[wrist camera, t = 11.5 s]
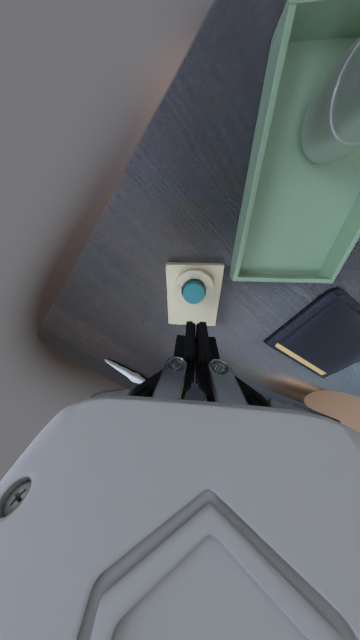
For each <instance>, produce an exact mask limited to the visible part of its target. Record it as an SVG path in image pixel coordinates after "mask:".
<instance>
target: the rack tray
mask: <svg viewBox="0 0 360 640" xmlns="http://www.w3.org/2000/svg"><path fill="white" fill-rule="evenodd" d="M359 38H360V0H287V2H286V5H285V7H284V10H283V12H282V15H281V17H280V20H279V22H278V25H277V27H276V30H275V32H274V35H273V37H272V40H271V45H270V51H269V56H268V62H267V67H266V73H265V78H264V84H263V89H262V95H261V101H260V106H259V112H258V117H257V123H256V128H255V134H254V139H253V145H252V150H251V156H250V161H249V167H248V172H247V178H246V183H245V189H244V194H243V200H242V205H241V211H240V216H239V222H238V227H237V233H236V238H235V244H234V249H233V255H232V260H231V266H230V271H229V277H230V278H231V279H232V280H233V281H250V282H295V283H333V282H334V280H335V278H336V277H337V275H338V273H339V271H340V270H341V268H342V266H343V265H344V263H345V261H346V259H347V258H348V256H349V254H350V253H351V251H352V249H353V247H354V246H355V244H356V242H357V240H358V239H359V237H360V148H359V149H357V150H356V151H355V152H353V153H351V154H350V155H348V156H347V157H344V158H342V159H340V160H337V161H333V162H330V163H326V164H316V163H313V162H311V161H310V160H308V159H307V157H306V156H305V154H304V152H303V149H302V143H301V131H302V125H303V121H304V117H305V114H306V111H307V109H308V106H309V104H310V102H311V100H312V98H313V96H314V95H315V93H316V91H317V90H318V88H319V86H320V85H321V83H322V82H323V80H324V78H325V77H326V75H327V74H328V72H329V71H330V70H331V68H332V67H333V65H334V64H335V63H336V62H337V61H338V59H339V58H340V57H341V56H342V55H343V54H344V53H345V52H346V51H347V50H348V49H349V48H350V47H351V46H352V45H353V44H354V43H355V42H356V41H357V40H358V39H359Z"/></svg>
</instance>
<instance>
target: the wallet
mask: <svg viewBox="0 0 360 640" xmlns="http://www.w3.org/2000/svg"><path fill="white" fill-rule="evenodd" d="M264 342H265V343H266V344H267V345H269V346H270V347H272V348H273V349H275V350H277V351H279V352H281V353H282V354H284V355H286V356H287V357H289V358H291V359H292V360H294V361H296V362H297V363H299V364H301V365H302V366H304V367H306V368H307V369H309V370H311V371H312V372H314V373H315V374H317V375H319V376H320V377H322V378H325V377H327V376H329V375H331V374H333V373H336V372H338V371H340V370H342V369H344V368H346V367H348V366H350V365H352V364H354V363H356V362H358V361H360V305H359V304H358V303H357V302H356V301H355V300H353V299H352V298H351V297H350V296H349V295H348V294H347V293H346V292H344V291H343V290H341V289H339V288H334V289H331V290H328V291H327V292H325V293H324V294H323V295H321V296H320V297H319V298H317V299H316V300H315V301H314V302H312V303H311V304H310V305H309V306H307V307H306V308H305V309H304V310H303V311H301V312H300V313H299V314H298V315H296V316H295V317H294V318H293V319H291V320H290V321H289V322H288V323H286V324H285V325H284V326H282V327H281V328H280V329H279V330H277V331H276V332H275V333H274V334H272V335H271V336H270V337H269V338H267V339H266V340H265V341H264Z"/></svg>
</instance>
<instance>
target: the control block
mask: <svg viewBox="0 0 360 640" xmlns="http://www.w3.org/2000/svg"><path fill="white" fill-rule="evenodd" d="M224 267H225V265H223V264H222V263H183V262H168V263H167V264H166V280H167V301H168V321H169V324H182V325H186V323H187V321H193V323H195V325H197V323H199V322H206V325H207V326H215V322H216V316H217V310H218V304H219V298H220V291H221V285H222V279H223V273H224ZM191 280H197V281H199V282H201V283H202V285H203V287H204V291H205V296H204V298H203V300H202V301H201V302H199V303H197V304H190V303H188V302H187V301H186V300H185V299H184V297H183V289H184V286H185V284H186V283H187V282H189V281H191Z"/></svg>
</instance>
